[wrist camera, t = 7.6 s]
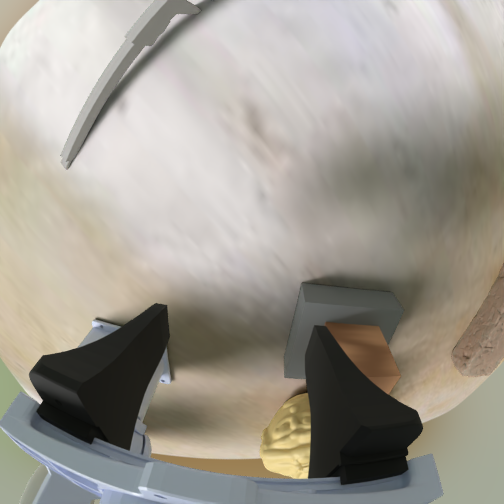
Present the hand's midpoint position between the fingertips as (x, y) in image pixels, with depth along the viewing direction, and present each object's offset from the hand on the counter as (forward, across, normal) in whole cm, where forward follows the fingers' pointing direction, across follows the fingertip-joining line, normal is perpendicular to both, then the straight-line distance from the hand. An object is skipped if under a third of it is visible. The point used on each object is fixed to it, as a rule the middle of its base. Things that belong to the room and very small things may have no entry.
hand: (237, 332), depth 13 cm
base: (+10, -9, +7) cm, 15 cm away
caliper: (+11, +12, -14) cm, 21 cm away
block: (+7, -9, +7) cm, 13 cm away
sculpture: (+11, -10, +20) cm, 25 cm away
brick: (+11, -32, +4) cm, 34 cm away
